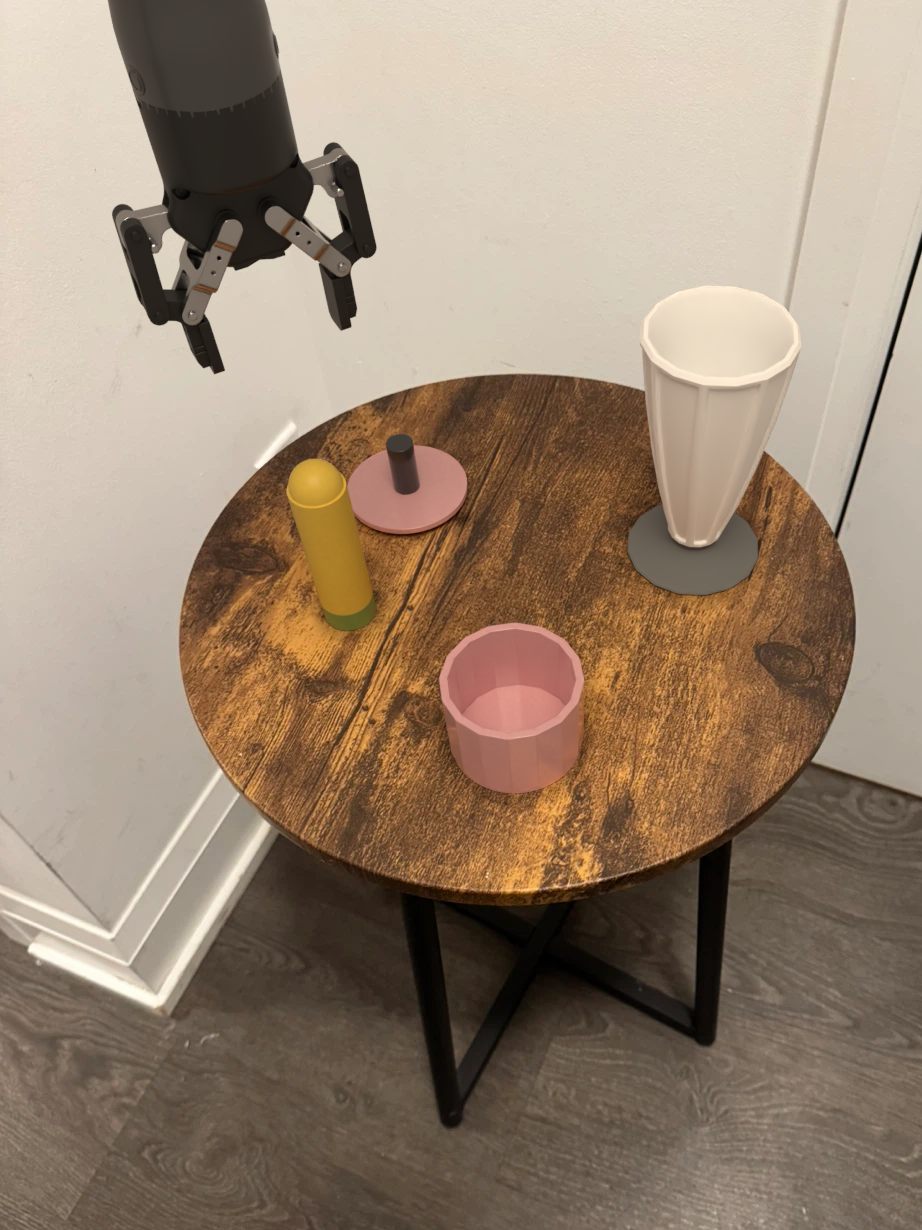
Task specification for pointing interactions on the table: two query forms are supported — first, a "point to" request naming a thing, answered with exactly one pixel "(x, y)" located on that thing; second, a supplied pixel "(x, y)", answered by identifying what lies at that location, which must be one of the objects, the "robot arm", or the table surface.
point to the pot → (513, 707)
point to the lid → (407, 487)
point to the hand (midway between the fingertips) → (278, 344)
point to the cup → (708, 430)
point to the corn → (331, 543)
